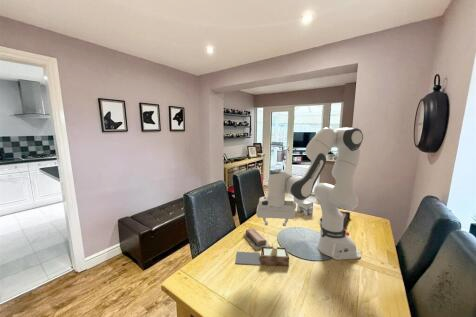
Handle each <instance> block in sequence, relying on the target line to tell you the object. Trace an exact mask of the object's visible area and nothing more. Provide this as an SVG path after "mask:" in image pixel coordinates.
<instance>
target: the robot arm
mask: <svg viewBox="0 0 476 317" xmlns="http://www.w3.org/2000/svg"><path fill="white" fill-rule="evenodd" d="M363 140H364V135H363V131H362V129H359V128H357V127H339V128H336V129H335V128H334V129H332V128H330V127H323V128H321V129H320V130H319V131H318V132H317V133H316V134H315V135H313V137H312V138H311V140H310V141H309V142H308V143H307V145H306V147H305V150H304V151H305V155H306V157H307V158H308V159H309V160H310V162H311V163H310V165H309V167H308V169H307V171H306V172H305V174H304V176H302V177H299V176H297V175H293V174H291V173H288V172H287V171H285V170H284V169H282V168H281V169H278V168H277V169H273V170H271V171H270V173H269V174H268V180H267V189H268V192H267V195H264V196H261V197H259V199H258V204H257V206H256V217H257V218H259V219H260V218H262V220H263V222H264V226H269V221H268V220H266V219H284V221H282V227H287V223H288V222H289V220H294V219H295V218H296V210H297V203H296V202H294V200H285V199H286V194H289V195H291V196H293V198H294V197H295V198H297V199H299V200H304V199H305V200H307V199H308V198H309V197H310V196H311V195H312V193H314V196H315V197H316V199H317V201H318V203H319V206H320V208H321V215H322V216H321V217H322V225H320V238H319V241H318V244H317V249H318V251H319V252H321V253H322V254H323V255H326V256H327V257H330V258H332V259H333V260H336V261H342V260H354V259H355V260H356V259H361V256H362V254H361V252H360V250H359V249H358V247H357V245H356V243H355V242H354V240H353V239H352V238H351V237H349V236H350V235H351V233H350V232H349V231H348V230H346V228H345V229H344V228H343V221H344V217H343V214H342V213H341V212H340V211H341V210H340V209H342V210H345V211H346V210H347V211H353V210H354V209H356V208H357V206H358V205H359V196H358V195H357V193H356V191H355V190H354V185H353V182H354V180H353V179H354V176H355V173H356V169H357V167H358V165H359V160H360V153H361V150H360V147H361V146H362V143H363ZM332 148H337V149H338V154H337V156H336V159H335V162H334V164H333V166H332V170H331V175H332V177H333V178H334V180H335V185H334V184H331V183H327V182H319V183H316V182H317V180H318V179H319V176H320V175H321V173H322V171H323V169H324V168H325V166H326V164H327V155H328V153H329V152H330V151H331V149H332Z"/></svg>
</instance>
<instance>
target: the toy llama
mask: <svg viewBox="0 0 476 317" xmlns="http://www.w3.org/2000/svg"><path fill="white" fill-rule="evenodd" d="M293 202H295V203H296V204H297V205H296V210H297V211H296V212H297V213H300V214H301V213H302V212H303V216H304V217H307V216H309V215H310V216H312V215H313V213H314V212H313V211H314V203H313V202H312V201H309V200H307V199H304V200H299V199H297V198H295V197H294V196H293Z"/></svg>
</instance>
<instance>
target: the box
mask: <svg viewBox="0 0 476 317" xmlns="http://www.w3.org/2000/svg"><path fill="white" fill-rule="evenodd" d="M272 246H273V245H272ZM272 246H271V245H270V246H261V249H260V250H261V252H260V256H261V265H262V266H280V267H281V266H282V267H289V266H290V254H289V251H288V248H287V246H277V249H285V253H286V256H270V255H264V248H267V249H272Z"/></svg>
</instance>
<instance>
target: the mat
mask: <svg viewBox="0 0 476 317" xmlns="http://www.w3.org/2000/svg"><path fill="white" fill-rule="evenodd" d="M260 256H261V252H251V251H250V252H249V251H236V257H235V264H236V265H250V266H251V265H252V266H253V265H254V266H261V258H260Z"/></svg>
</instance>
